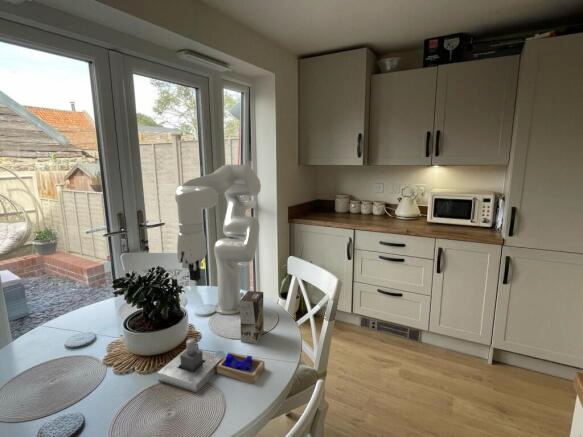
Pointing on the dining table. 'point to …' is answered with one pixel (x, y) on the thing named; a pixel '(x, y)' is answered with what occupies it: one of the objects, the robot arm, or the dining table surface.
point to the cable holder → (238, 363)
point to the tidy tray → (241, 374)
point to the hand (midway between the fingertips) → (195, 279)
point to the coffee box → (251, 316)
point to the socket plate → (189, 379)
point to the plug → (191, 357)
